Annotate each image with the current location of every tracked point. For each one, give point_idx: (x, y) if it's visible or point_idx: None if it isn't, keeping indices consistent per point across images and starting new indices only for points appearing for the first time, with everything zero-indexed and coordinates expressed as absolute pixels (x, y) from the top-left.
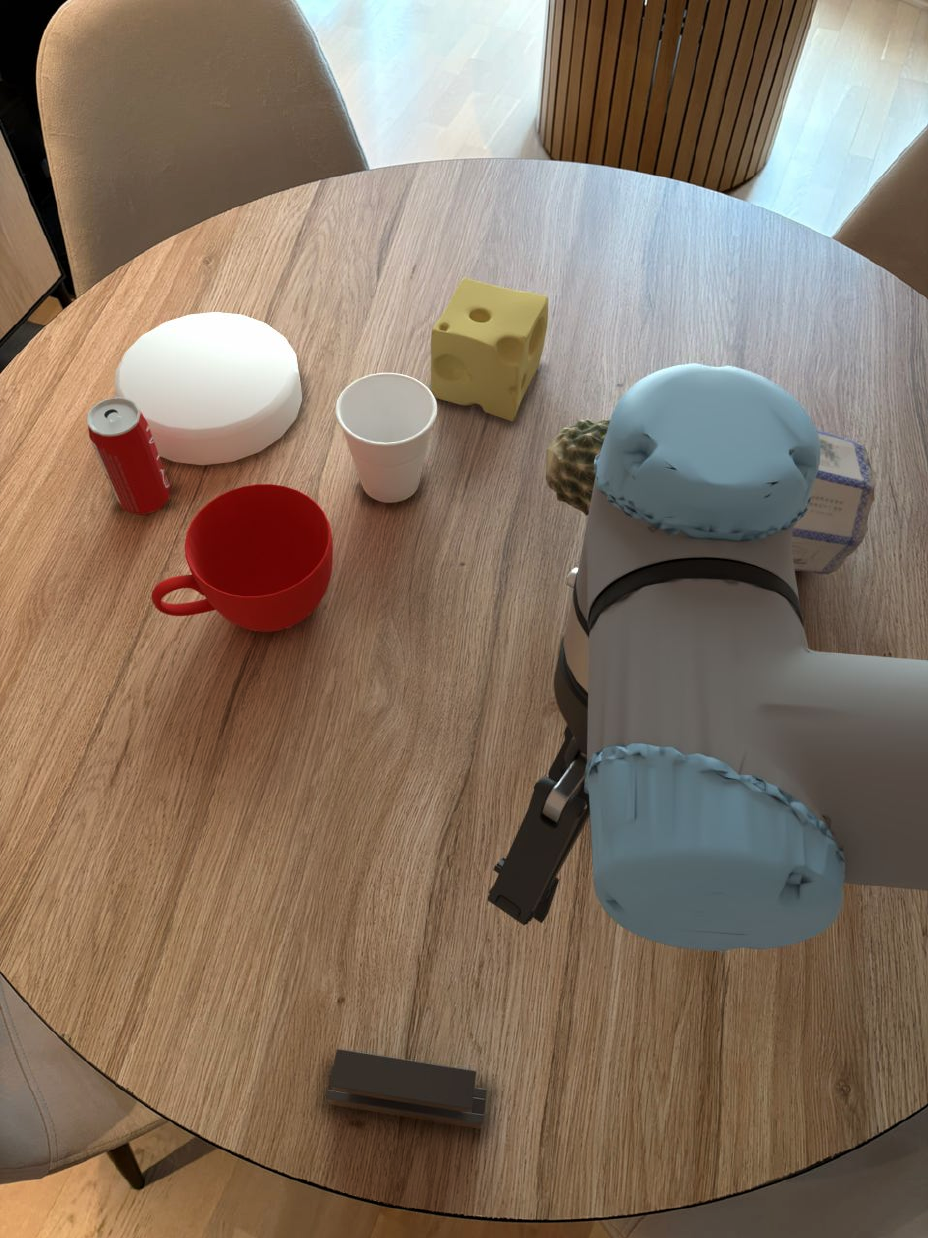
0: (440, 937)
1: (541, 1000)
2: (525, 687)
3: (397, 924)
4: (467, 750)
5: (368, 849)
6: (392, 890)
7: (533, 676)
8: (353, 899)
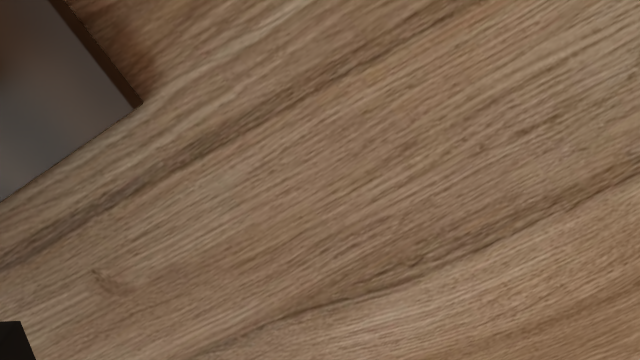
0: (523, 204)
1: (515, 19)
2: (122, 331)
3: (543, 260)
4: (261, 335)
5: (475, 349)
6: (505, 293)
7: (99, 332)
8: (549, 323)
